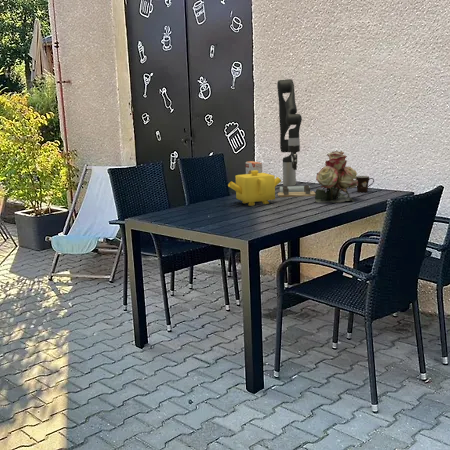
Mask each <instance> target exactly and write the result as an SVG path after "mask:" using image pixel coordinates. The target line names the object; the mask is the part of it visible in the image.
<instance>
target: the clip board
mask: <svg viewBox="0 0 450 450" xmlns="http://www.w3.org/2000/svg"><path fill="white" fill-rule="evenodd" d="M303 186H304V192H289V188H288V186H282V187H283V192H282V193H280V192H277V196H278V198H292V197H293V198H294V197H296V198H297V197H315V193H316V191H313V190H312V191H311V186H310V185H303ZM309 186H310V187H309Z"/></svg>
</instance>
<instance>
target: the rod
mask: <svg viewBox="0 0 450 450" xmlns="http://www.w3.org/2000/svg"><path fill="white" fill-rule="evenodd" d="M304 186H305V185H296V186H287V187H288V188H289V192H304ZM308 186H309V187H310V188H311V186H310V185H308ZM283 187H284V186H279V193H282V192H283Z"/></svg>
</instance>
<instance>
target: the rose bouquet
mask: <svg viewBox="0 0 450 450" xmlns="http://www.w3.org/2000/svg"><path fill="white" fill-rule="evenodd" d="M326 156H327V157H328V158H329V159H328V160H325V166H324V167H322V168H321V169H320V170H319V172H317V173H316V179H315V180H316V181H317V182H318V184H319V185H321V189H320V188H316V190H315V196H314V200H315V202H316V203H323V204H324V203H333V204H335V203H336V204H337V203H345V202H349V201H350V202H352V203H353V202H356V200H355V199H353V197H350V193H349V192H348V188H349V189H355V188H357V186H358V182H357V181H358V180H356V179H357V178H356V177H357V176H358V173H357V171H356V170H355V169H353V167H351V166H347V163H348V160H346V159H347V157H348V156H347V155H345V152H344V151H342V150H334V151H332V152H330V153H327V154H326ZM325 189H326V190H325ZM341 191H343V192H344V193H345V194H346V195H347V196H346V195H345V194H344V193H342V192H341ZM337 197H338V198H337Z"/></svg>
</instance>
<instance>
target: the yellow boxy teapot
mask: <svg viewBox="0 0 450 450" xmlns="http://www.w3.org/2000/svg"><path fill="white" fill-rule="evenodd" d="M251 173H252V174H246V173H243V174H237V175H235V182H233V181H230V182H229V183H228V184H227V186H228V188H230V189H232V190H234V191H235V193H236V194H235V195H236V196H235V198H236V200H238V201H241V203H242V204H248V205H247V206H255V204H256V202H258V203H262V205H269V204H270V202H269V201H273V200H276V187H277V185H279V184H280V183H281V182H282V179H281V178H279V176H277V177H275V176H276V175H273V174H270V173H267V172H262V173H258V171H257V170H253V171H251Z"/></svg>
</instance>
